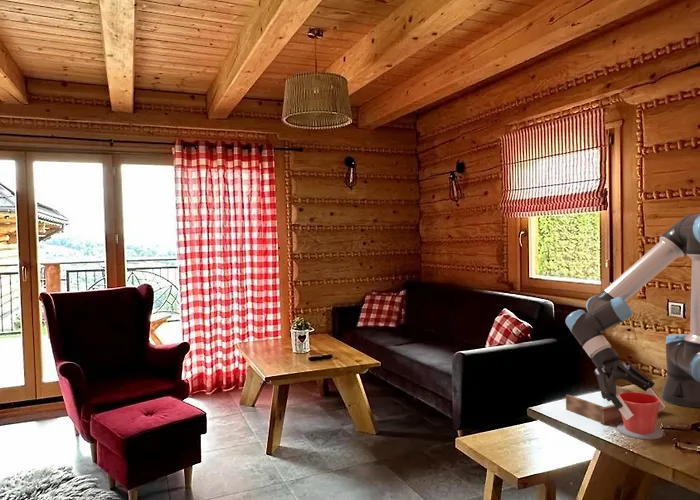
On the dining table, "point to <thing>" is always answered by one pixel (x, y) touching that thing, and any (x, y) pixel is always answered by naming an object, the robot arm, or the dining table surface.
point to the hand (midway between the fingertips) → (646, 413)
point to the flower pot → (640, 412)
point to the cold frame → (596, 408)
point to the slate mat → (655, 435)
